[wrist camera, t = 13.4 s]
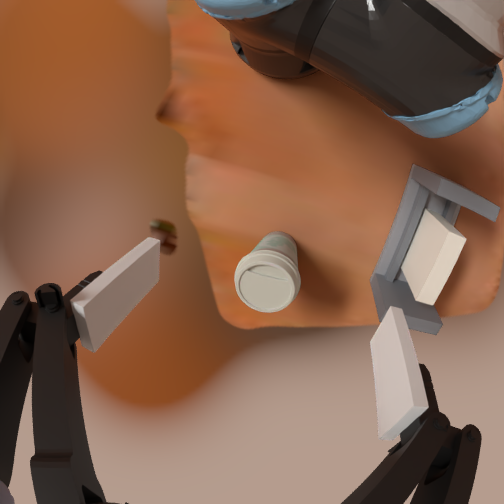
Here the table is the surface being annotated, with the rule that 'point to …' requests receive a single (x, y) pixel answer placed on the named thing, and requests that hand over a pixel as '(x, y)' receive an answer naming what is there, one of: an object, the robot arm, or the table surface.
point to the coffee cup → (269, 274)
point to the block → (431, 256)
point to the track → (410, 209)
